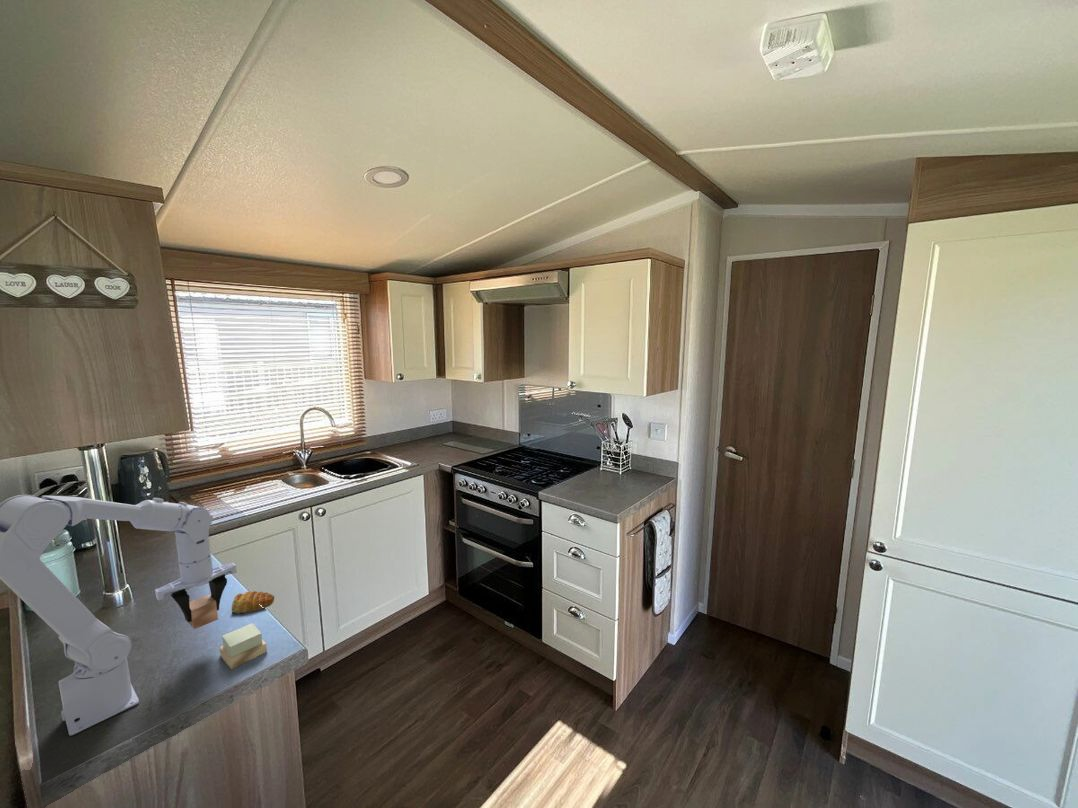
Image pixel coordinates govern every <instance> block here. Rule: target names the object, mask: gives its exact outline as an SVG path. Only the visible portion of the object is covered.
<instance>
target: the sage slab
mask: <svg viewBox="0 0 1078 808" xmlns="http://www.w3.org/2000/svg"><path fill="white" fill-rule="evenodd" d="M221 638H222V646H224V648H225V649H226V651H227V652H228V654H229V655H230V656H231V658H232V657H234V656H236V655H239V654H241V653H243V652H245V651H247V650H249V649H252V648H254V647H256V646H258V645H260V644H263V643H262V640H263V636H262V632H261V631H260V629H258V628H257V627H256V625H255V624H254V623H253V622H251V623H249V624H247V625H245V626H242V627H239V628H238V629H237V628H236V629H235V630H232V631H230V632H228V633H226V634H223V635H221Z"/></svg>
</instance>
